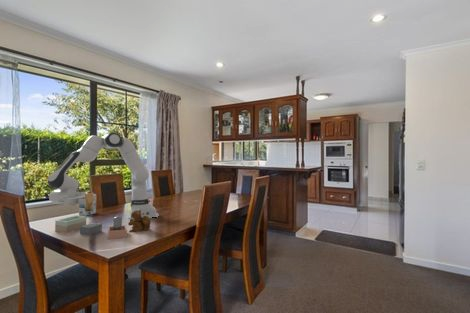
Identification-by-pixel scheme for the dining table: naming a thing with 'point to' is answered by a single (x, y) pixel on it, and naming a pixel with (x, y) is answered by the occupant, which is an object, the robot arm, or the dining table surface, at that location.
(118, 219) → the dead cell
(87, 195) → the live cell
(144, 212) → the robot arm
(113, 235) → the pink square tray
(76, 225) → the trough
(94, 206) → the light bulb box
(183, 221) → the dining table surface
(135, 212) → the stuffed squirrel
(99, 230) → the cradle
